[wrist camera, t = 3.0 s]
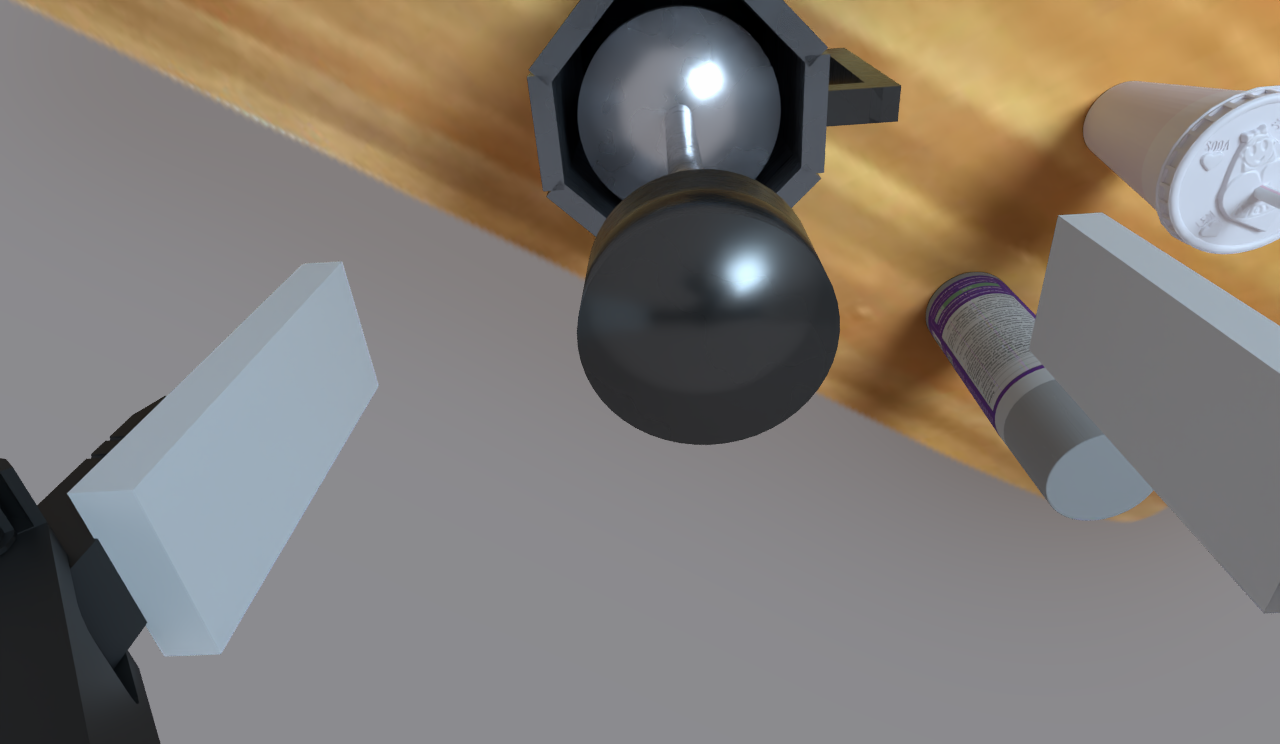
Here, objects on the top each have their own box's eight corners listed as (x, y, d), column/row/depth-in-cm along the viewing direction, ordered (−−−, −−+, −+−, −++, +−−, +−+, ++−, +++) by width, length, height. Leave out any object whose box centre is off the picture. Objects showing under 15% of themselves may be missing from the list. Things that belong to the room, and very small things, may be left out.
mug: (555, -43, 34) (512, -27, 23) (840, -67, 33) (925, -61, 23) (580, 177, 39) (554, 269, 29) (828, 160, 38) (892, 248, 28)
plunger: (568, 12, 26) (454, 136, 11) (779, -4, 25) (955, 101, 11) (590, 215, 29) (527, 511, 15) (775, 203, 29) (901, 494, 14)
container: (1010, 336, 43) (1161, 512, 30) (927, 353, 44) (1040, 532, 31) (1010, 263, 41) (1175, 419, 28) (923, 281, 42) (1044, 442, 29)
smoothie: (1068, 205, 39) (1250, 330, 27) (1042, 90, 36) (1233, 173, 24) (1199, 149, 38) (1455, 256, 26) (1183, 24, 35) (1463, 79, 23)
